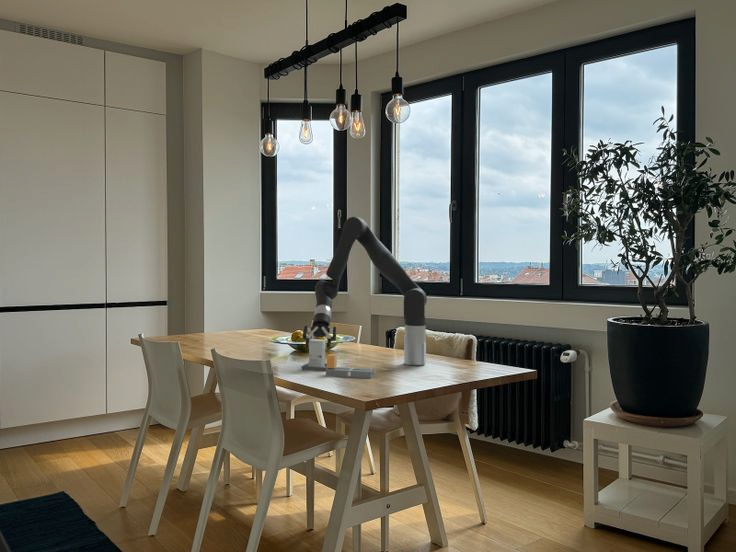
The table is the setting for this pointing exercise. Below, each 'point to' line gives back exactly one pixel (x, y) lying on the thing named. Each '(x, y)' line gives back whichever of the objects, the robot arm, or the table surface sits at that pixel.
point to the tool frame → (313, 368)
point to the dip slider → (332, 361)
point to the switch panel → (350, 372)
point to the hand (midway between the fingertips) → (317, 347)
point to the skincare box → (317, 353)
